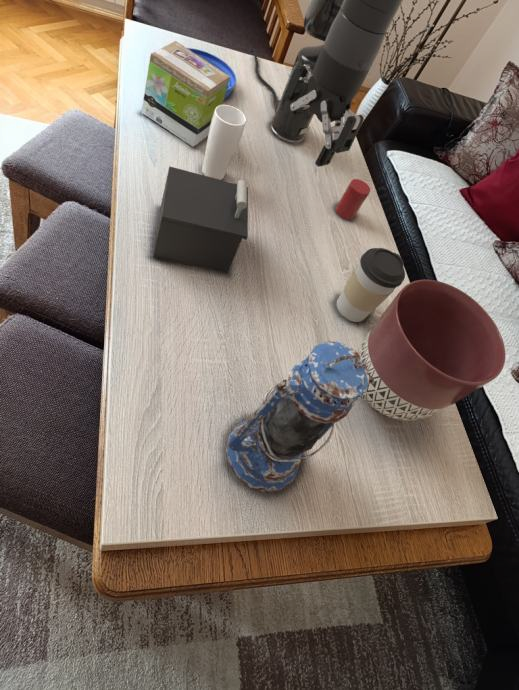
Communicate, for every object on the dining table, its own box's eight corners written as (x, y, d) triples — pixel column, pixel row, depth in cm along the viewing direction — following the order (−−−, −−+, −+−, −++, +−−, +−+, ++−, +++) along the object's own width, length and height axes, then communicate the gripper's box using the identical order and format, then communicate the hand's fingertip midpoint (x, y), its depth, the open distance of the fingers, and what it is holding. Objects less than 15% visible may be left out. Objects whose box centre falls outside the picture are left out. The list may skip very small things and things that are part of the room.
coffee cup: (345, 330, 100) (384, 283, 89) (323, 295, 104) (358, 245, 92) (378, 321, 105) (419, 275, 93) (356, 287, 108) (393, 239, 96)
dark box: (229, 225, 106) (242, 189, 98) (227, 273, 98) (242, 238, 91) (160, 208, 102) (168, 169, 94) (152, 257, 94) (161, 219, 87)
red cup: (334, 202, 122) (349, 176, 116) (353, 207, 124) (368, 182, 117) (336, 216, 119) (352, 190, 113) (355, 221, 121) (371, 196, 114)
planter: (440, 438, 93) (525, 384, 76) (349, 441, 86) (420, 382, 69) (408, 349, 103) (477, 284, 86) (324, 345, 96) (380, 274, 79)
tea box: (139, 114, 116) (148, 51, 105) (164, 99, 122) (175, 38, 111) (193, 149, 116) (209, 89, 104) (215, 132, 122) (232, 74, 110)
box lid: (246, 190, 98) (254, 169, 94) (246, 239, 91) (255, 219, 87) (168, 169, 94) (173, 147, 90) (161, 219, 87) (166, 197, 83)
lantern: (296, 413, 86) (386, 311, 62) (317, 483, 80) (425, 400, 56) (210, 422, 80) (274, 312, 56) (226, 498, 74) (304, 412, 50)
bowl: (169, 95, 124) (171, 81, 121) (162, 54, 133) (164, 41, 130) (238, 108, 131) (242, 96, 128) (227, 69, 140) (230, 56, 137)
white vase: (192, 173, 111) (209, 113, 99) (205, 159, 115) (222, 99, 103) (219, 188, 111) (239, 130, 99) (231, 173, 115) (251, 115, 104)
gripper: (397, 81, 71) (345, 172, 84) (336, 23, 76) (295, 118, 88) (363, 84, 67) (314, 180, 80) (300, 23, 71) (263, 123, 84)
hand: (304, 148), depth 84 cm, fingers open, 8 cm apart
